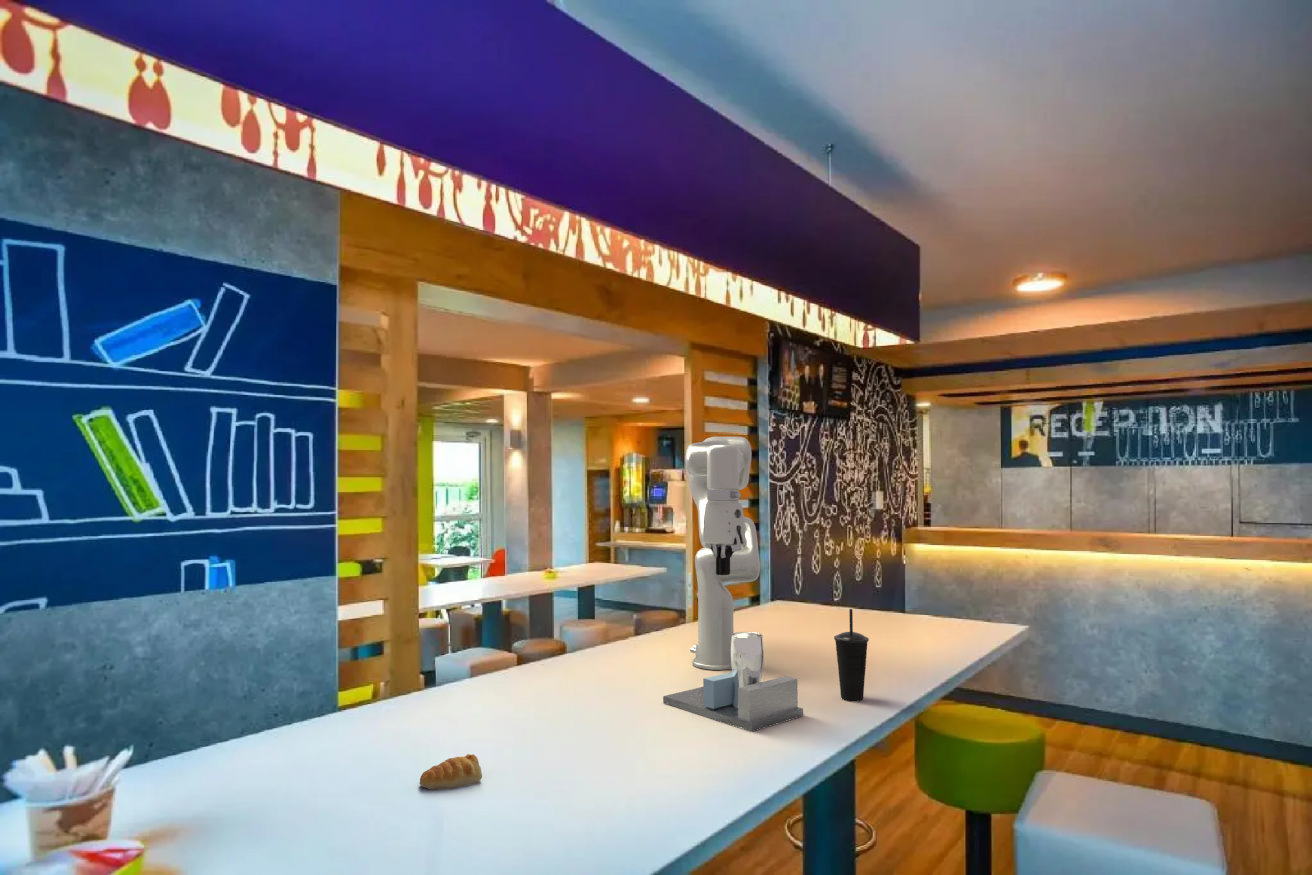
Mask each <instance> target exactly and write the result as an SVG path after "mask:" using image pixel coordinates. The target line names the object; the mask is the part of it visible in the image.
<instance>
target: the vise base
mask: <svg viewBox="0 0 1312 875" xmlns="http://www.w3.org/2000/svg"><path fill="white" fill-rule="evenodd" d="M798 682H799V681H798V678H796V677H792V676H787V675H786V676H782V677H781V676H780V677H777V678H773V679H768V680H765V681H761V682H760V683H756V684H752V685H748V686H744V687H740V688H738V710H737V709H735V708H734V707H733V704H730V705H726V706H722V707H719V708H715V709H713V708H709V707H706V706H703V686H700V687H696V688H692V689H691V688H690V689H688V690H684V691H679V692H676V693H672V694H666V695H663V697H662V700H663V704H666V705H668V706H671V707H675V708H677V709H681V710H683V711H686V712H690V713H691V714H692V713H693V714H696V715H699V716H703V717H706V718H708V719H711V718H712V719H711V720H714V719H716V720H715V721H717V720H719V721H718V722H720V721H721V722H720V723H723V722H724V723H725V724H727V723H729V724H728V725H730V724H731V725H730V726H733V725H734V726H733V727H736V726H737V727H736V728H739V727H742V728H744V729H743V730H745V729H746V731H748V730H749V731H748V732H751V731H752V732H754V731H755V732H756V731H758V730H757V729H759V728H762V729H764V728H763V727H765V728H768V727H771V726H770V725H772V726H774V725H773V724H775V725H777V724H776V723H778V724H781V723H784V721H785V722H787V721H786V720H788V721H790V720H789V719H791V720H793V719H792V718H794V719H797V718H796V717H798V718H800V717H799V716H801V717H803V716H804V708H803V707H800V706H798V704H799V702H798V701H799V700H798V699H799V698H798V695H799V694H798V693H799V692H798V689H799V688H798ZM802 715H803V716H802ZM742 728H741V729H742ZM759 730H760V729H759Z"/></svg>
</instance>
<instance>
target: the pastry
mask: <svg viewBox="0 0 1312 875" xmlns="http://www.w3.org/2000/svg"><path fill="white" fill-rule="evenodd" d="M482 778H483V773H482V767H481V765H480V762H479V758H478V757H477V755H475V754H474V753H472V754H470V753H467V754H466V755H464V756H455V757H451V758H450V757H449V758H447V759H445V760H443V761H442V762H441V763H439V764H437V765H434V766H432V767H430V768H428V769H427V770H425V771H423V772H422V773H421V775H420V779H419V785H420V786H421V787H423V788H426V789H428V790H431V791H434V790H447V789H448V790H449V789H451V790H452V789H455V788H461V787H465V786H471V785H474V784H478V783H480V782H481V780H482Z"/></svg>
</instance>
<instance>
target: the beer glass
mask: <svg viewBox="0 0 1312 875" xmlns="http://www.w3.org/2000/svg"><path fill="white" fill-rule="evenodd" d="M763 638H764V636H763V634H762V633H759V632H751V631H738V632H734V633H733V634H732V639H731V666H732V669H731V672H732V673H733V678H734V685H735V694H734V701H733V707H734V708H735V709H737V710H738V688H740V687H744V686H748V685H752V684H756V683H760V682H762V676H763V672H764V671H763V670H764V664H765V663H764V662H765V651H764V647H765V646H764V639H763Z"/></svg>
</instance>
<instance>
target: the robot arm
mask: <svg viewBox="0 0 1312 875" xmlns="http://www.w3.org/2000/svg"><path fill="white" fill-rule="evenodd" d="M751 463H752V447H751V443H750V442H749V440H748V439H747V438H745V437H743V436H711V437H708V438H705V440H703V441H702V442H701V441H700V442H694V443H690V444H689V445H688V446H687V448H686V451H685V467H686V470H687V472H688V485H689V489H690V494H691V497H692V499H693V502H694V503H695V506H696V509H697V514H698V515H697V517H698V532H699V533H698V534H699V535H698V536H699V542H700V544H701V546H702V548H700V549H699V550H698V551H697V552H696V554H695V557H694V567H695V573H696V574H695V575H696V580H697V582H696V583H697V596H698V597H697V598H698V601H697V602H698V604H697V606H698V607H697V608H698V609H697V611H698V613H697V615H698V616H697V618H698V620H697V621H698V622H697V625H698V626H697V627H698V629H697V631H698V632H697V633H698V634H697V635H698V636H697V637H698V640H697V642H698V643H697V644H694V645H693V646H692V647H690V648H689V651H690V653H692V654H695V657H694V658H693V659H692V661H691V662H692V665H693V666H694V667H696V668H699V669H704V670H710V671H711V670H712V671H713V670H714V671H719V670H720V671H721V670H732V666H731V639H732V634H733V633H735V632H734V598H733V595H732V594H731V592H730V591H729V589H728V588H727V587H726V586H725V585H724V584H725V583H751V582H754V581H756V580H758V578H759V577H760V571H761V563H760V562H761V561H760V551H759V544H758V542H759V541H758V535H757V529H756V528H757V527H756V525H755V523H754V521H753V519H751V518H750V517H747V516H744V510H743V509H744V508H743V504H742V502H739V499H740V498H741V497H742V494H741V492H740V491H739V490H744V489H745V488H746V487H747V486H748V483H749V479H750V471H751Z"/></svg>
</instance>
